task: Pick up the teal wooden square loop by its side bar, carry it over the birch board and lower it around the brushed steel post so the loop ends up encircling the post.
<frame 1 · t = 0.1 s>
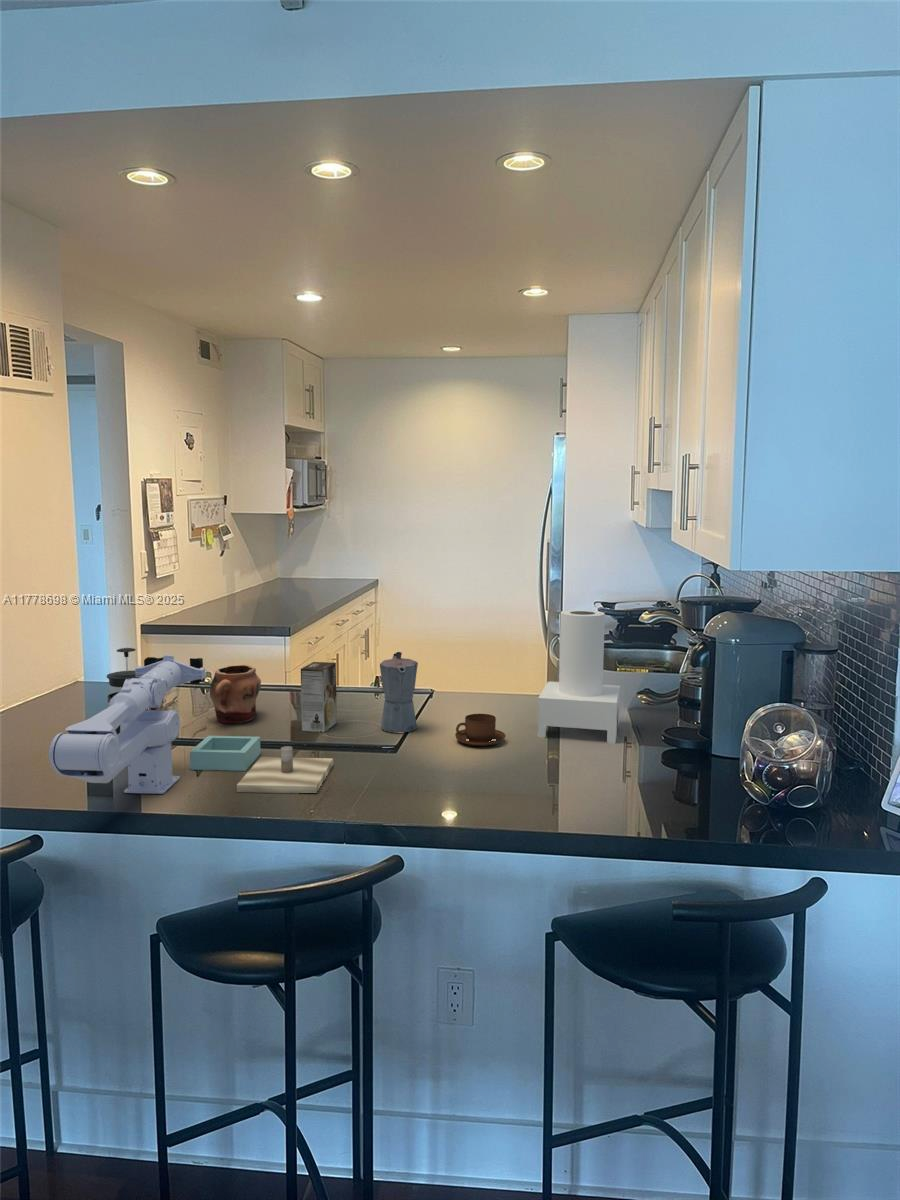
hand: (184, 662, 191), 22 cm above the countertop, tool horizontal, fingers open, 7 cm apart
square loop: (226, 761, 190), on the countertop
french press: (132, 745, 202), on the countertop
decorative planter: (235, 721, 223), on the countertop
post board: (287, 777, 179), on the countertop
coffee box: (319, 727, 218), on the countertop
moka pot: (397, 729, 217), on the countertop
cup and saucer: (480, 743, 206), on the countertop
paper towel holder: (579, 730, 217), on the countertop
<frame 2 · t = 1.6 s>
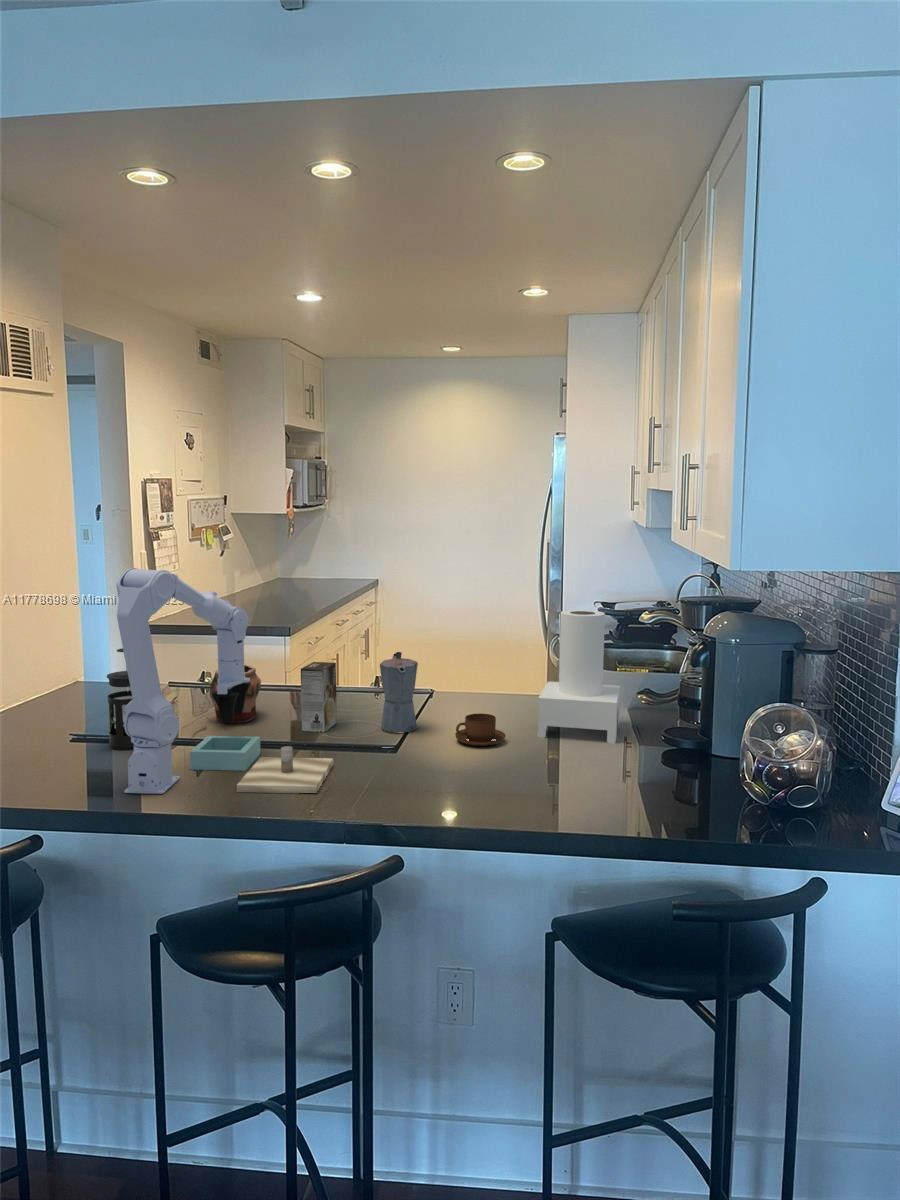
hand: (232, 718, 194), 8 cm above the countertop, tool pointing down, fingers open, 7 cm apart
nothing on the countertop moved.
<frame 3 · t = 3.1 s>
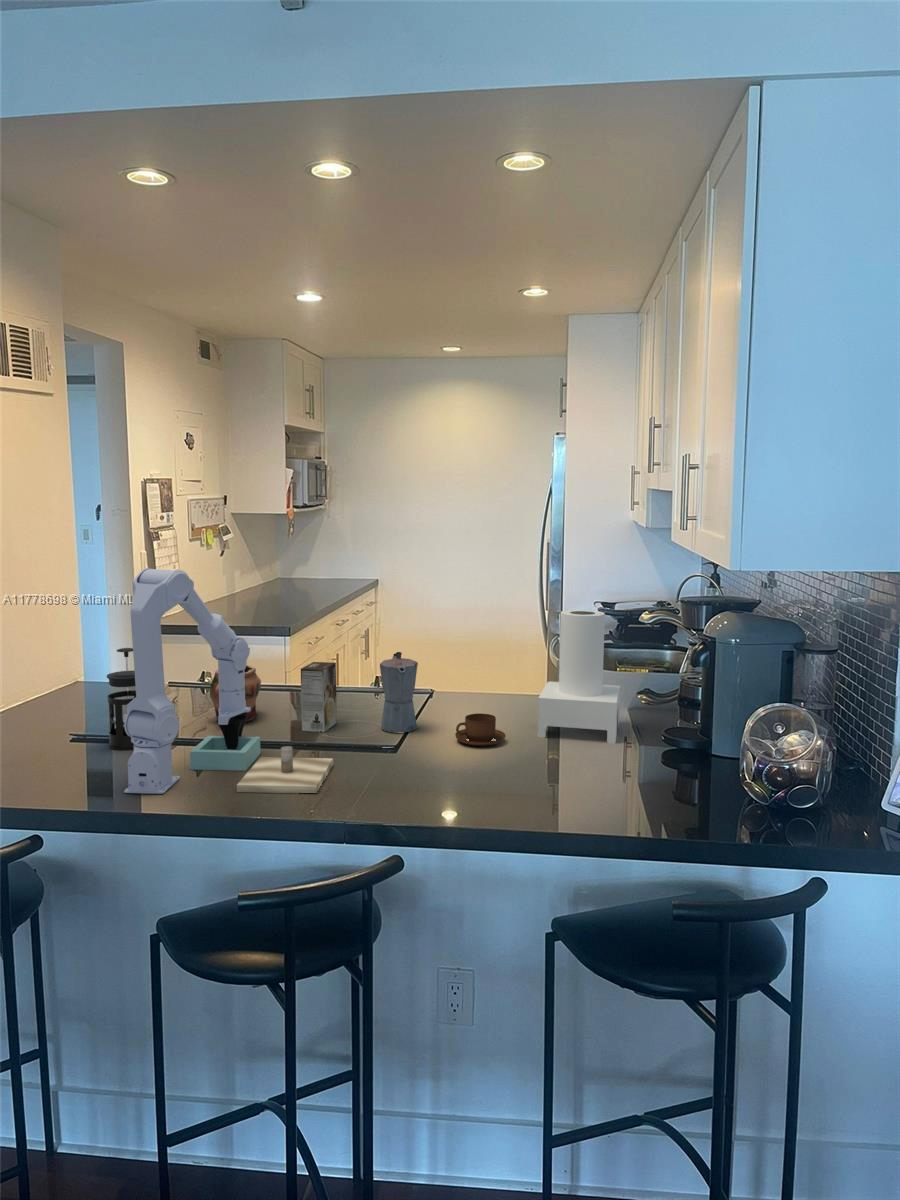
hand: (233, 747, 195), 2 cm above the countertop, tool pointing down, fingers closed on square loop
square loop: (226, 761, 190), on the countertop, touching gripper
everything else where it was.
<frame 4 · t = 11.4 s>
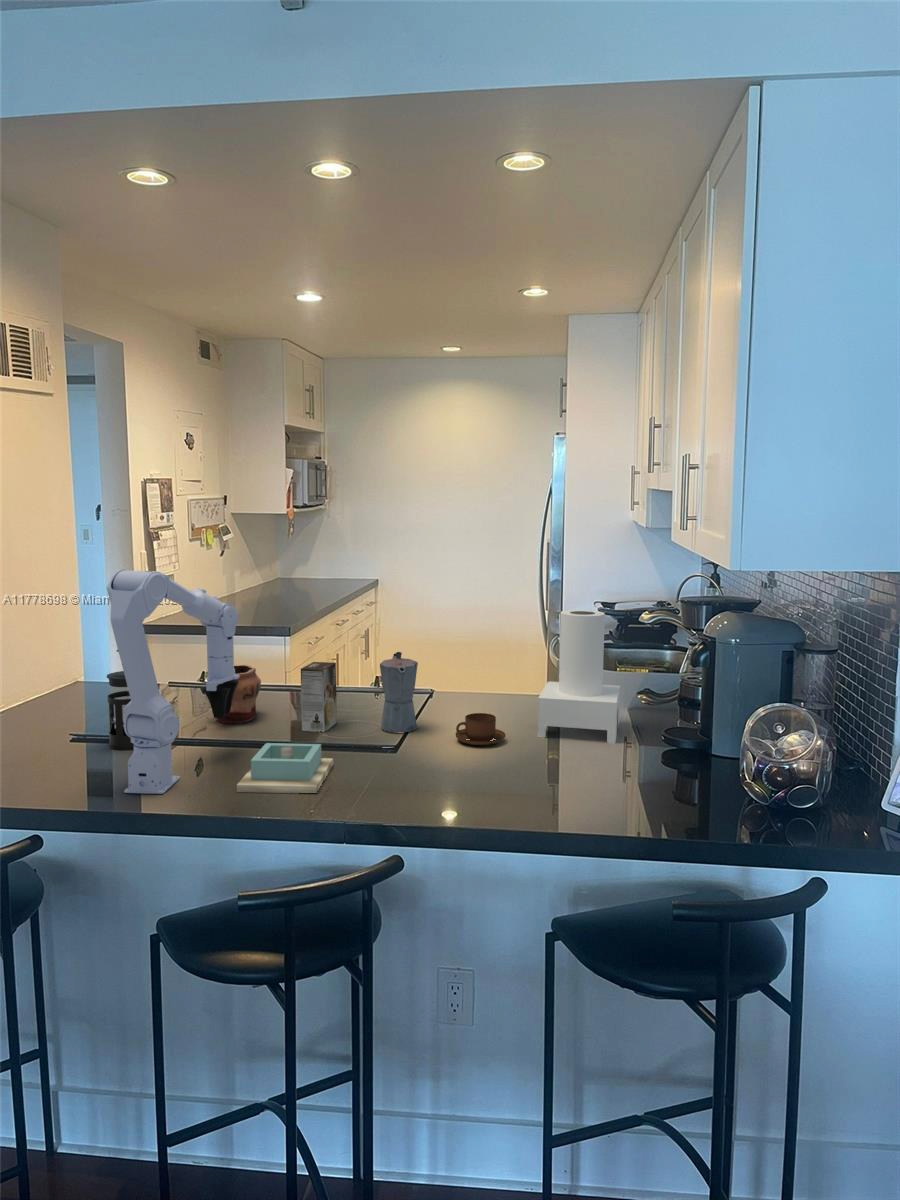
hand: (222, 715, 193), 9 cm above the countertop, tool pointing down, fingers open, 4 cm apart
square loop: (287, 770, 179), point 1 cm above the countertop, touching post board
everything else where it was.
at the end: square loop 0.3 cm off-centre on the post board, point 1.5 cm above the post board's base; square loop tilted 0°; the gripper is holding nothing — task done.
